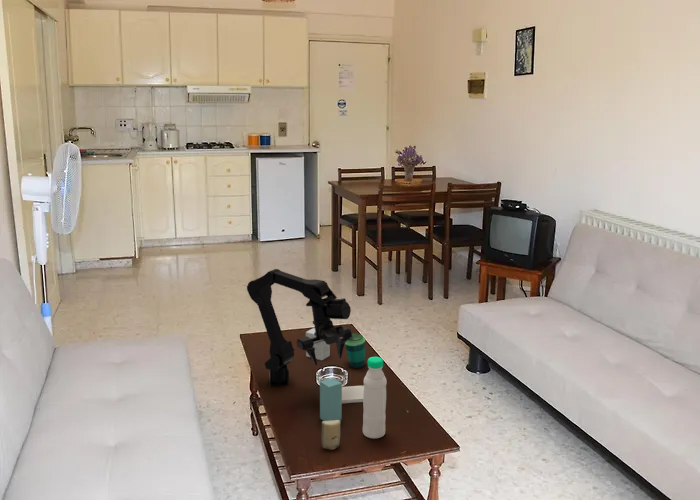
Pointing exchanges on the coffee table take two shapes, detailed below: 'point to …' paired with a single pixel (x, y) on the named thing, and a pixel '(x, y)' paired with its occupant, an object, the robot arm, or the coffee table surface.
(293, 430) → the coffee table surface
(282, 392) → the coffee table surface
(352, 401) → the cream tile
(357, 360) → the cup
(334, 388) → the teal block
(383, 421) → the water bottle
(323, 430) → the power adapter
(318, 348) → the small box
